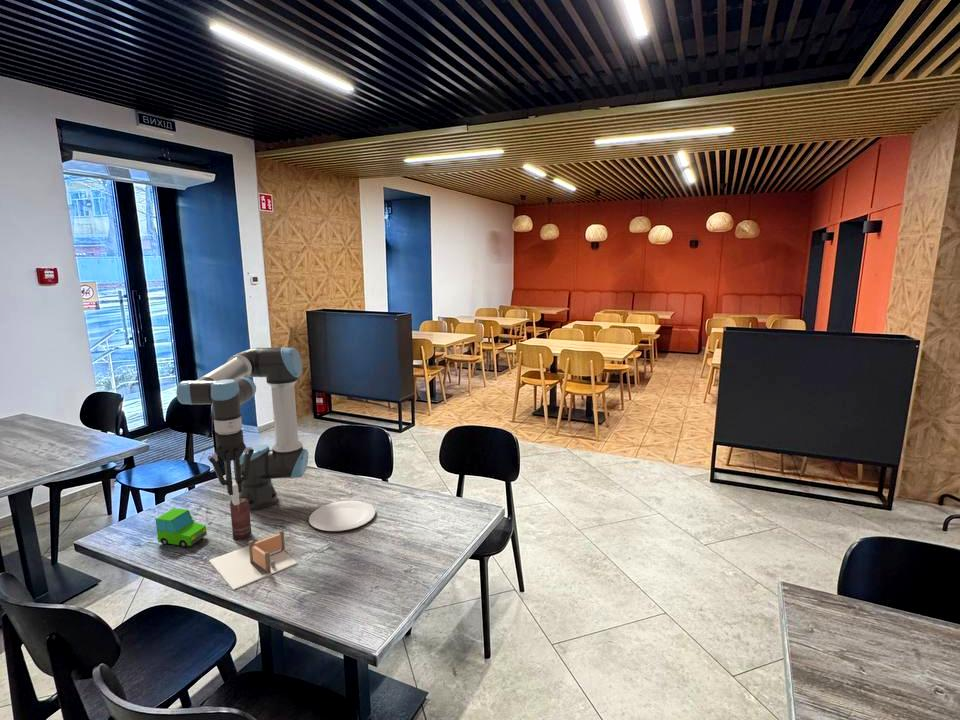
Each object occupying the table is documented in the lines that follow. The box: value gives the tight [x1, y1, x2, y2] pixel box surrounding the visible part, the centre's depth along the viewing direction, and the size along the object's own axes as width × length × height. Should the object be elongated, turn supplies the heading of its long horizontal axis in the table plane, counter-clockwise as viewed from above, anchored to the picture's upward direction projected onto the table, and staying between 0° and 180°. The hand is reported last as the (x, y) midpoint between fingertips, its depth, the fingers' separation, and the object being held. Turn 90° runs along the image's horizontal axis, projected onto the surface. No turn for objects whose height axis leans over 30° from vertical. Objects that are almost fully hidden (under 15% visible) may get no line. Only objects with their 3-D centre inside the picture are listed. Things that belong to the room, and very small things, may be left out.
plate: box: [308, 500, 376, 533], centre depth 198 cm, size 25×25×2 cm
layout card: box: [208, 542, 298, 591], centre depth 168 cm, size 20×22×2 cm
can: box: [229, 497, 252, 541], centre depth 183 cm, size 6×6×14 cm
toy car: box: [155, 507, 208, 549], centre depth 180 cm, size 10×13×10 cm
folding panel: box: [252, 545, 271, 573], centre depth 163 cm, size 10×1×7 cm, turn 51°
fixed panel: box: [248, 529, 286, 563], centre depth 171 cm, size 12×2×7 cm, turn 135°
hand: (235, 503), depth 160 cm, fingers closed
